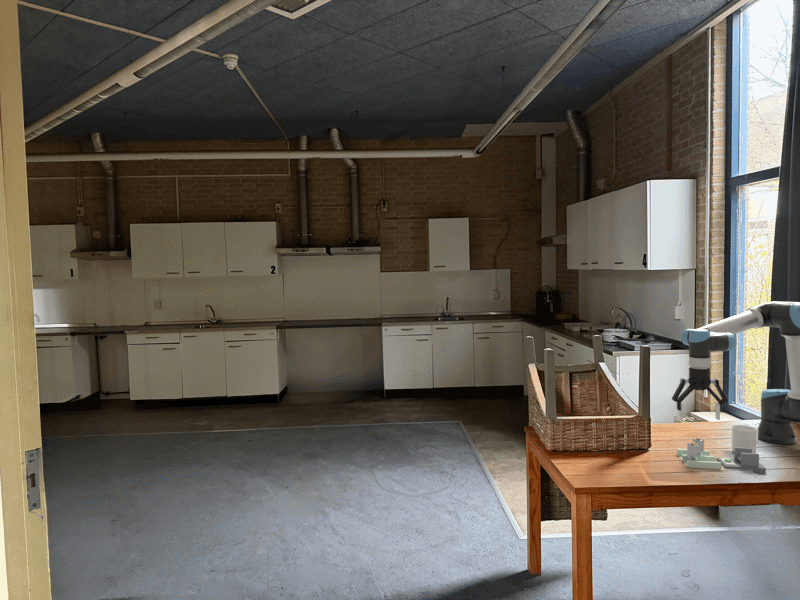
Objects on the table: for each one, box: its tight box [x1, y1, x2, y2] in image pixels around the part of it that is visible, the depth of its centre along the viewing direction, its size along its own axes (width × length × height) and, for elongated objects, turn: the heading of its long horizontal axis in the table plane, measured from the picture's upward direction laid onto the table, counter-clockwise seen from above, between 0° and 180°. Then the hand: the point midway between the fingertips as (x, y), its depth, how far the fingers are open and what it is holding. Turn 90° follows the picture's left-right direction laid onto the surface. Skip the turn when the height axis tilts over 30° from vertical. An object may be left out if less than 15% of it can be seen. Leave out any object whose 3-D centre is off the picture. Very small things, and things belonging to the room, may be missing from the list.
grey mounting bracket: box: [716, 447, 767, 474], centre depth 215 cm, size 14×10×7 cm
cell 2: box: [692, 437, 705, 455], centre depth 222 cm, size 4×4×9 cm
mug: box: [731, 424, 759, 453], centre depth 231 cm, size 12×9×11 cm
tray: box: [676, 448, 722, 470], centre depth 219 cm, size 12×15×4 cm
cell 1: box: [686, 441, 699, 461], centre depth 217 cm, size 4×4×9 cm
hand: (699, 418), depth 222 cm, fingers open, 13 cm apart
